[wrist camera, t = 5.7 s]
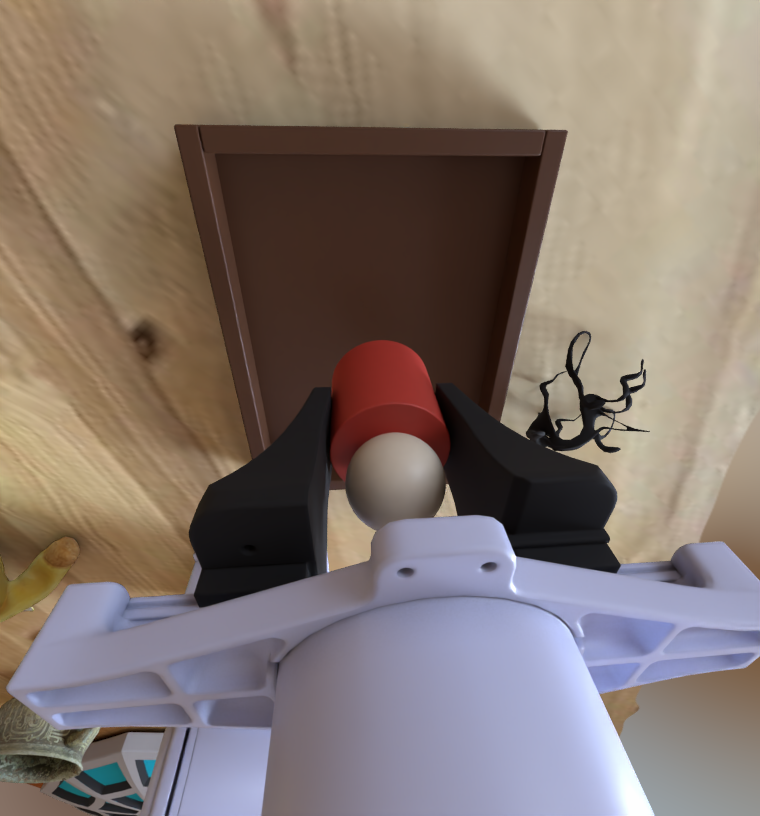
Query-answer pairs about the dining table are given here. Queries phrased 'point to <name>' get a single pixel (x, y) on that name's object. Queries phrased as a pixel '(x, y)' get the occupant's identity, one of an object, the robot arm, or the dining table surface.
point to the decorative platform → (111, 776)
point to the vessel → (38, 747)
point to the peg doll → (387, 434)
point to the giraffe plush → (36, 578)
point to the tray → (367, 252)
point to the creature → (588, 408)
